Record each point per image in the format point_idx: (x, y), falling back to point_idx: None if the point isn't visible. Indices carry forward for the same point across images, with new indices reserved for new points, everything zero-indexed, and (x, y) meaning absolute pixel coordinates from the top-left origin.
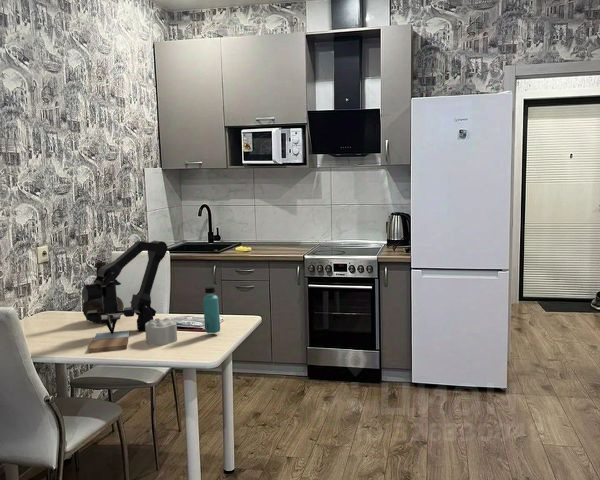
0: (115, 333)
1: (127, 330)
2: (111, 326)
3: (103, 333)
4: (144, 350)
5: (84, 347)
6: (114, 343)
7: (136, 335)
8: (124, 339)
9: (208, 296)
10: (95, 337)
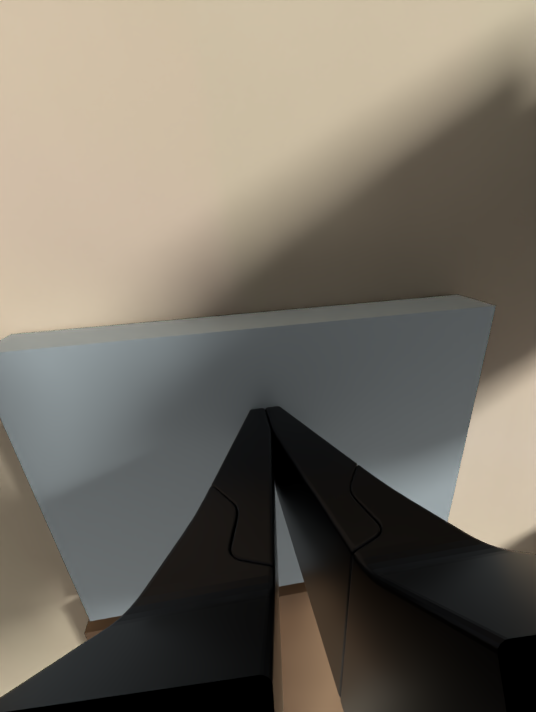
0: (309, 425)
1: (477, 308)
2: (273, 473)
3: (118, 388)
4: None
5: (53, 651)
6: (327, 695)
7: (518, 382)
8: None
9: None
10: (69, 551)
